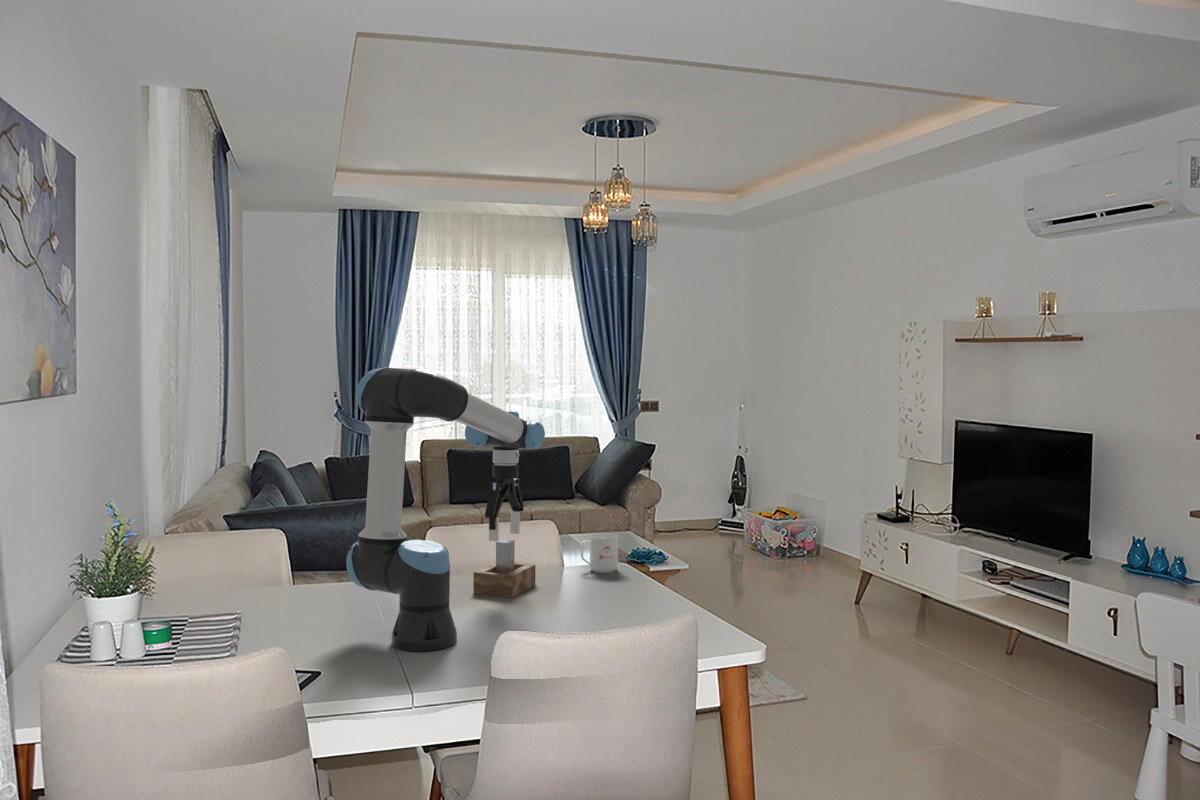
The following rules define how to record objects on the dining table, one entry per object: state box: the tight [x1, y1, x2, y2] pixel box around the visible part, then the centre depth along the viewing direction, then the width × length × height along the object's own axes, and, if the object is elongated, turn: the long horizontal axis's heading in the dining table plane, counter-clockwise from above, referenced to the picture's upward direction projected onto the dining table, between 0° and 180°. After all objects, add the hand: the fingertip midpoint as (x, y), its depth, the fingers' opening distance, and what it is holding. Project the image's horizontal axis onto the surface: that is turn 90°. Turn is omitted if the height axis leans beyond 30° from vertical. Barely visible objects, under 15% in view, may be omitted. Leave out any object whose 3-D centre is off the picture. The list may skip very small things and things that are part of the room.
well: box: [473, 561, 536, 598], centre depth 269 cm, size 16×12×6 cm
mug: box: [580, 532, 619, 574], centre depth 292 cm, size 12×9×11 cm
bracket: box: [495, 539, 516, 574], centre depth 270 cm, size 7×4×14 cm, turn 159°
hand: (504, 537), depth 268 cm, fingers open, 13 cm apart
